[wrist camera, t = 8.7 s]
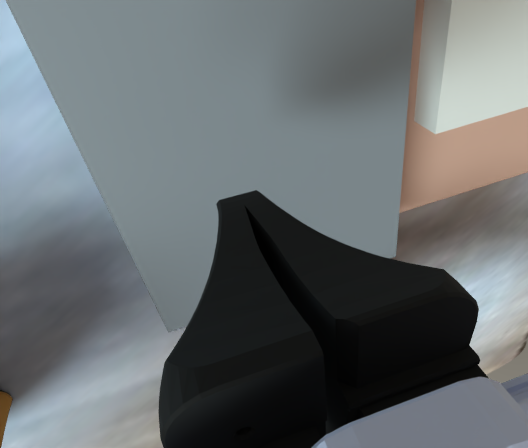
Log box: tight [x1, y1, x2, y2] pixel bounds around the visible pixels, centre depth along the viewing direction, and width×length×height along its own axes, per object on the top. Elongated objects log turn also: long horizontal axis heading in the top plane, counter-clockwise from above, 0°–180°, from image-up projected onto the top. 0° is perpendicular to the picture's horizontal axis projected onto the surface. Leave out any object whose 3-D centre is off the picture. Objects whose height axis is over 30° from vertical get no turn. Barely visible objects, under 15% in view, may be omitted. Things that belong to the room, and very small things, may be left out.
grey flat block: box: [6, 0, 416, 332], centre depth 18 cm, size 22×14×4 cm, turn 9°
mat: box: [399, 0, 528, 213], centre depth 21 cm, size 22×12×1 cm, turn 9°
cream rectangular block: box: [414, 0, 528, 134], centre depth 20 cm, size 9×6×2 cm, turn 9°
